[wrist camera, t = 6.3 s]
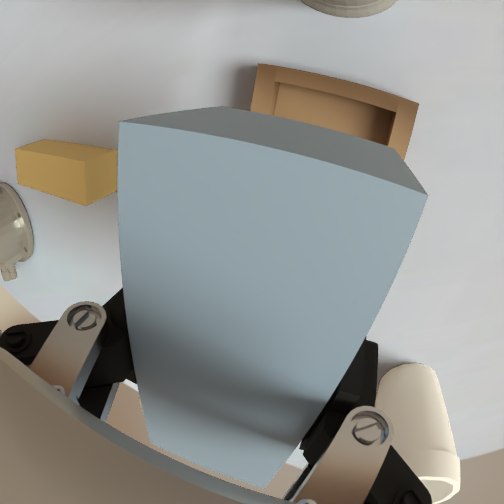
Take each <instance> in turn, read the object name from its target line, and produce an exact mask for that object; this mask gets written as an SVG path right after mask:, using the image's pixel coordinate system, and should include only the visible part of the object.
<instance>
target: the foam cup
mask: <svg viewBox="0 0 504 504" xmlns="http://www.w3.org/2000/svg"><path fill="white" fill-rule="evenodd" d="M375 408H378V409H380V410H381V411H383V412H384V413H385V414H386V415H387V416H388V417H389V418H390V420H391V422H392V424H393V428H394V435H393V440H392V442H391V445H392V446H393V448H394V449H395V450H396V451H397V452H398V454H399V455H400V456H401V457H402V459H403V460H404V461H405V462H406V464H407V465H408V466H409V467H410V468H411V470H412V471H413V472H414V473H415V475H416V476H417V477H418V478H419V479H420V481H421V482H422V483H423V484H424V486H425V487H426V488H427V489H428V491H429V493H430V494H431V498H432V504H438V503H440V502H443V501H445V500H448V499H449V498H451V497H452V496H453V495H454V494H455V493H457V492H458V491H459V489H460V458H458V457H457V454H456V449H455V445H454V440H453V435H452V431H451V427H450V423H449V418H448V414H447V411H446V407H445V403H444V399H443V396H442V392H441V388H440V385H439V382H438V378H437V376H436V372H435V371H434V370H433V369H431V368H430V367H429V366H427V365H423V364H419V363H411V364H402V365H400V366H398V367H395V368H393V369H390V370H389V371H388V372H387V373H386V374H385V375H384V376H383V377H382V378H381V381H380V384H379V389H378V392H377V396H376V401H375Z"/></svg>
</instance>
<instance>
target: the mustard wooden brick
mask: <svg viewBox="0 0 504 504" xmlns="http://www.w3.org/2000/svg"><path fill="white" fill-rule="evenodd" d="M15 156H16V168H17V178H18V184H20V185H23V186H27V187H30V188H33V189H36V190H39V191H42V192H45V193H48V194H51V195H54V196H57V197H60V198H63V199H66V200H69V201H72V202H76V203H79V204H82V205H85V206H87V205H89V204H91V203H93V202H95V201H97V200H99V199H101V198H103V197H105V196H107V195H109V194H111V193H113V192H115V191H117V150H112V149H106V148H100V147H94V146H88V145H81V144H75V143H68V142H60V141H53V140H45V139H44V140H40V141H37V142H34V143H31V144H28V145H25V146H22V147H19V148H16V149H15Z"/></svg>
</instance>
